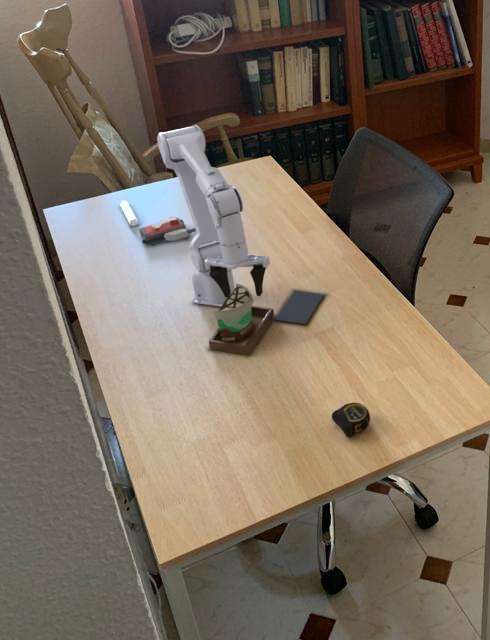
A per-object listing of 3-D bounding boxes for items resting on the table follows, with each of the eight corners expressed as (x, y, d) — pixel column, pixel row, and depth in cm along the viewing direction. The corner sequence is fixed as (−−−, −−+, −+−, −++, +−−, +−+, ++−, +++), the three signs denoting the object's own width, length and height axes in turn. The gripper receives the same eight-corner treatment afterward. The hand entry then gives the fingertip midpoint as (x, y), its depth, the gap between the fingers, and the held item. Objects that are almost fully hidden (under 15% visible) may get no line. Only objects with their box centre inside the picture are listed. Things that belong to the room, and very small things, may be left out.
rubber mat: (274, 320, 193) (274, 319, 193) (294, 291, 204) (294, 290, 204) (305, 325, 192) (305, 324, 192) (324, 295, 203) (324, 294, 203)
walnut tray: (210, 349, 184) (208, 341, 182) (239, 311, 196) (237, 303, 195) (247, 355, 182) (246, 346, 180) (274, 316, 195) (273, 308, 193)
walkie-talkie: (146, 250, 220) (215, 230, 230) (143, 236, 218) (212, 216, 228) (136, 237, 226) (203, 217, 236) (133, 223, 224) (201, 204, 234)
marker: (124, 205, 244) (136, 227, 233) (117, 203, 243) (128, 225, 231) (126, 197, 244) (139, 219, 232) (120, 196, 242) (131, 217, 231)
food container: (244, 350, 183) (239, 315, 178) (219, 346, 184) (213, 311, 179) (265, 319, 194) (260, 285, 188) (242, 316, 195) (236, 282, 189)
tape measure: (331, 422, 163) (329, 409, 161) (360, 410, 167) (359, 396, 165) (346, 442, 159) (345, 429, 157) (376, 429, 162) (375, 415, 160)
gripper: (195, 249, 175) (207, 304, 181) (258, 247, 174) (269, 302, 179) (206, 237, 181) (218, 289, 187) (267, 234, 180) (277, 287, 186)
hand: (243, 294), depth 184 cm, fingers open, 7 cm apart
